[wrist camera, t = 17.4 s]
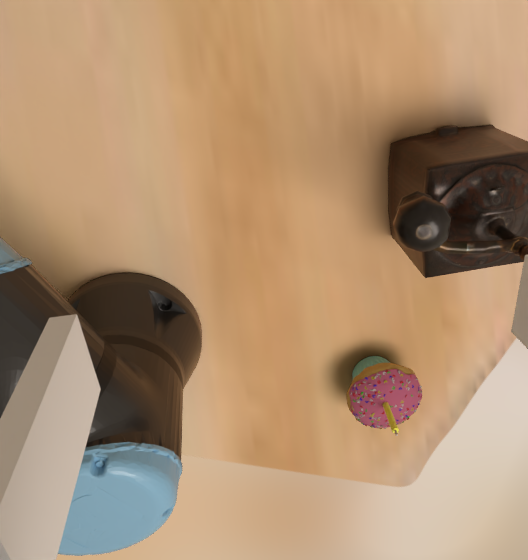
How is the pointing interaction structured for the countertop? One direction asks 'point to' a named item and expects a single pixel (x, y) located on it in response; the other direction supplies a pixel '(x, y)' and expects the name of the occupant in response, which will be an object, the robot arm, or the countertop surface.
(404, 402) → the cupcake
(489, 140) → the coffee grinder
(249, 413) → the countertop surface
